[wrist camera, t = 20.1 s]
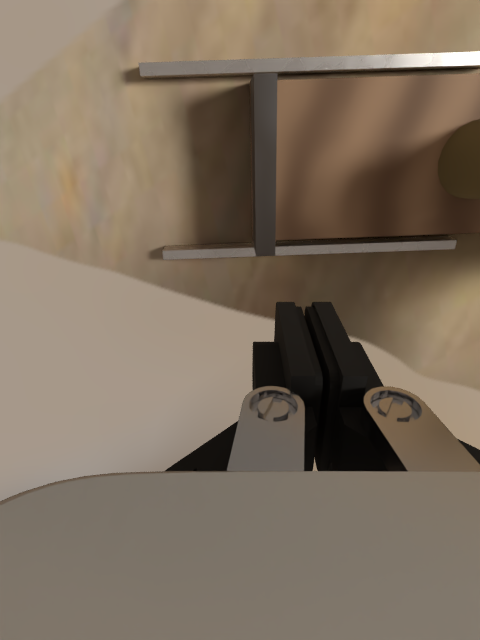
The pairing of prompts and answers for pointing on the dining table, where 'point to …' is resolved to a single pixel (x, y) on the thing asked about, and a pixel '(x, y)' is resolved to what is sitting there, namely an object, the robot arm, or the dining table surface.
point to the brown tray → (356, 156)
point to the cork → (462, 162)
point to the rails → (311, 67)
